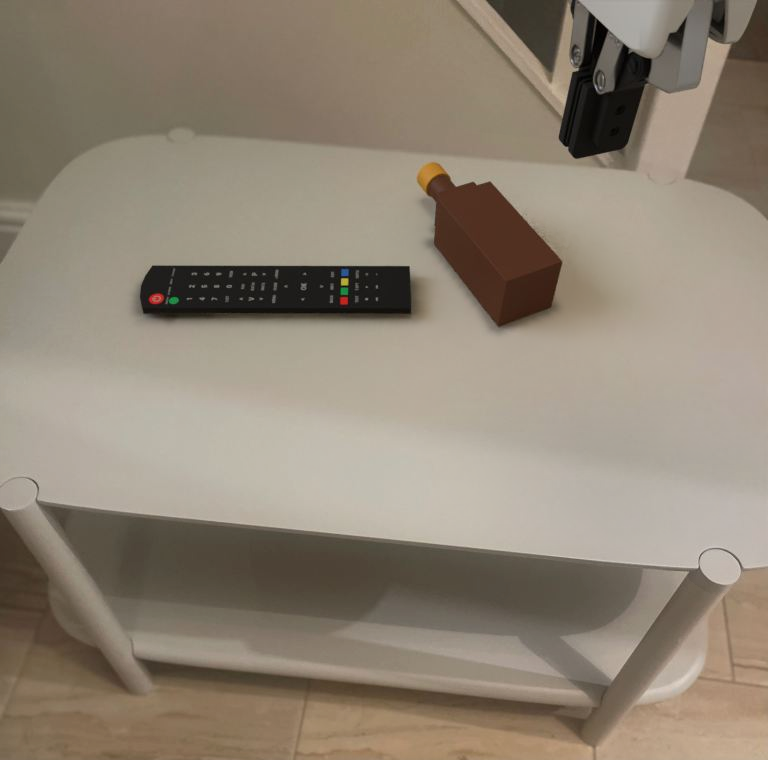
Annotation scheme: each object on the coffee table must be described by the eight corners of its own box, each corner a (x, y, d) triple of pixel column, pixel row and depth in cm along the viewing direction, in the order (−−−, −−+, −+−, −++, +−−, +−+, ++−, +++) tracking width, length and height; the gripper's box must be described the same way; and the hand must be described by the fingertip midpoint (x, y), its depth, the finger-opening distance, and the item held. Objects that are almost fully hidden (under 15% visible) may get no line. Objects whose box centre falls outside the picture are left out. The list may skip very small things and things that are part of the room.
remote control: (410, 318, 70) (411, 308, 69) (138, 318, 70) (135, 307, 69) (409, 276, 73) (409, 266, 72) (149, 276, 73) (146, 265, 72)
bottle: (551, 307, 71) (451, 189, 81) (563, 261, 67) (455, 142, 77) (498, 327, 70) (403, 204, 80) (506, 281, 65) (404, 157, 76)
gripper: (964, -267, 23) (737, 220, 38) (683, -366, 32) (586, 60, 46) (747, -245, 22) (597, 254, 36) (514, -356, 30) (468, 82, 45)
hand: (591, 144), depth 41 cm, fingers closed
